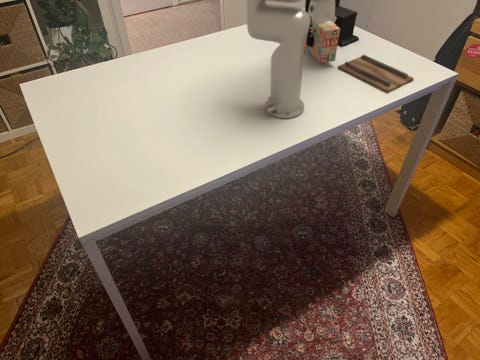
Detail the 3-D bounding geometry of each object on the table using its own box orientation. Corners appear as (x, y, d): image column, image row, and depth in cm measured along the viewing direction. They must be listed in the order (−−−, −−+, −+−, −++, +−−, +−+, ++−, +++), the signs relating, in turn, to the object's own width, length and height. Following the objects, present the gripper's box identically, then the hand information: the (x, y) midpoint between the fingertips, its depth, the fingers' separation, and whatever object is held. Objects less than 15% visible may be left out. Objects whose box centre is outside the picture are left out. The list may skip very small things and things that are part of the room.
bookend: (359, 40, 156) (370, -21, 140) (342, 47, 152) (351, -14, 136) (319, 24, 170) (325, -33, 154) (302, 31, 166) (306, -27, 150)
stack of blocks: (297, 42, 153) (300, 11, 144) (311, 40, 154) (315, 9, 146) (320, 63, 137) (324, 30, 129) (335, 61, 138) (340, 27, 130)
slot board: (386, 93, 125) (388, 86, 123) (337, 68, 139) (338, 62, 137) (413, 80, 131) (415, 74, 129) (363, 57, 145) (364, 51, 143)
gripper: (312, 1, 125) (307, 52, 137) (348, -9, 132) (340, 40, 144) (297, -4, 130) (293, 46, 142) (332, -13, 137) (326, 35, 149)
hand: (317, 43), depth 143 cm, fingers closed on stack of blocks, 7 cm apart
